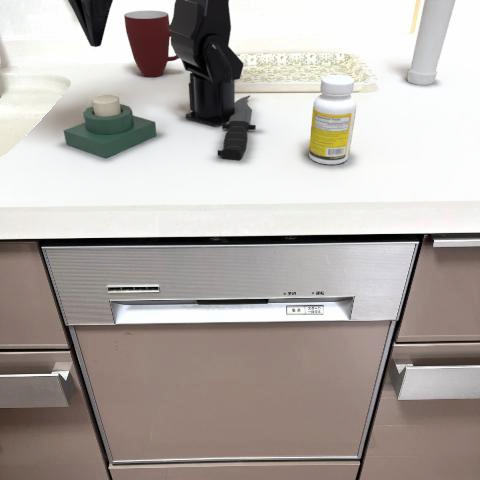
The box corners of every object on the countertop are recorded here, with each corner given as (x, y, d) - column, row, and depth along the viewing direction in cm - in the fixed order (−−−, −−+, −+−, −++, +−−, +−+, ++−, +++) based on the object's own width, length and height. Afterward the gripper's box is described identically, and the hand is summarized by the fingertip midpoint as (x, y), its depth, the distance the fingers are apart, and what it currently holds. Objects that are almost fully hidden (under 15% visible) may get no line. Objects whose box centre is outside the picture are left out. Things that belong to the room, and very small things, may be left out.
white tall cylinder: (405, 83, 89) (445, -92, 72) (406, 76, 93) (444, -93, 76) (434, 86, 88) (481, -92, 71) (434, 78, 92) (478, -92, 75)
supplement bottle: (321, 146, 67) (331, 70, 60) (355, 156, 64) (369, 78, 58) (300, 158, 64) (307, 79, 57) (335, 169, 61) (347, 88, 54)
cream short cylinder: (126, 113, 66) (124, 98, 64) (107, 120, 64) (104, 105, 62) (108, 108, 67) (106, 93, 66) (89, 115, 65) (86, 99, 64)
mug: (187, 68, 96) (183, 10, 89) (184, 80, 90) (180, 18, 83) (134, 68, 96) (127, 10, 89) (129, 80, 90) (120, 18, 83)
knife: (230, 90, 81) (259, 91, 81) (230, 99, 82) (259, 100, 82) (214, 149, 62) (252, 150, 62) (214, 160, 63) (251, 162, 63)
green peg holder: (156, 135, 69) (153, 107, 67) (105, 158, 63) (100, 128, 60) (118, 123, 73) (113, 96, 70) (66, 144, 67) (59, 115, 64)
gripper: (-57, -124, 48) (-5, 47, 59) (62, -126, 40) (97, 72, 51) (35, -121, 55) (66, 32, 66) (152, -122, 47) (167, 52, 58)
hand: (95, 46), depth 60 cm, fingers closed
